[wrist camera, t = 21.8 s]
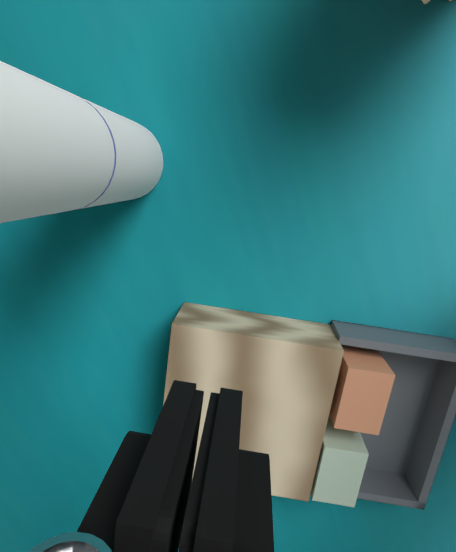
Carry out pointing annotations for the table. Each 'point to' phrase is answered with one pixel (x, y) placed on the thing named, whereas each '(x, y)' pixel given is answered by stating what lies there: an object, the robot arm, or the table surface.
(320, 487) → the pale green block
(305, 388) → the striped wooden block
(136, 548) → the robot arm
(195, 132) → the table surface
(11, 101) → the cylindrical container
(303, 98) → the table surface
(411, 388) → the box
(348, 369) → the salmon rectangular block
